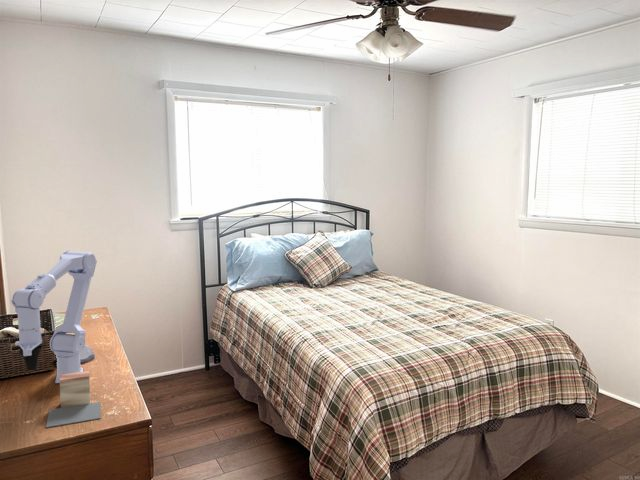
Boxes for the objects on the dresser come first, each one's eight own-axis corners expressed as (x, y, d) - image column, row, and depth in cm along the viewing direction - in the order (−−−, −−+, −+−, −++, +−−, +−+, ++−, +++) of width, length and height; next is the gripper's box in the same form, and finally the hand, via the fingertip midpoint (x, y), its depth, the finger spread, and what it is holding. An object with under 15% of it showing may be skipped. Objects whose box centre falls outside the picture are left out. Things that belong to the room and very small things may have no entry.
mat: (49, 410, 143) (49, 409, 143) (100, 402, 148) (100, 401, 148) (45, 428, 134) (45, 427, 134) (100, 418, 139) (100, 417, 139)
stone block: (97, 363, 181) (85, 351, 187) (98, 352, 180) (85, 340, 185) (65, 374, 172) (53, 361, 178) (65, 362, 171) (53, 350, 176)
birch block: (62, 402, 148) (60, 374, 146) (90, 397, 151) (89, 370, 150) (61, 408, 144) (59, 380, 143) (90, 403, 148) (88, 376, 146)
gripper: (18, 321, 149) (21, 361, 152) (9, 337, 136) (13, 381, 139) (44, 318, 152) (46, 358, 154) (38, 334, 139) (40, 377, 141)
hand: (32, 369), depth 147 cm, fingers closed
